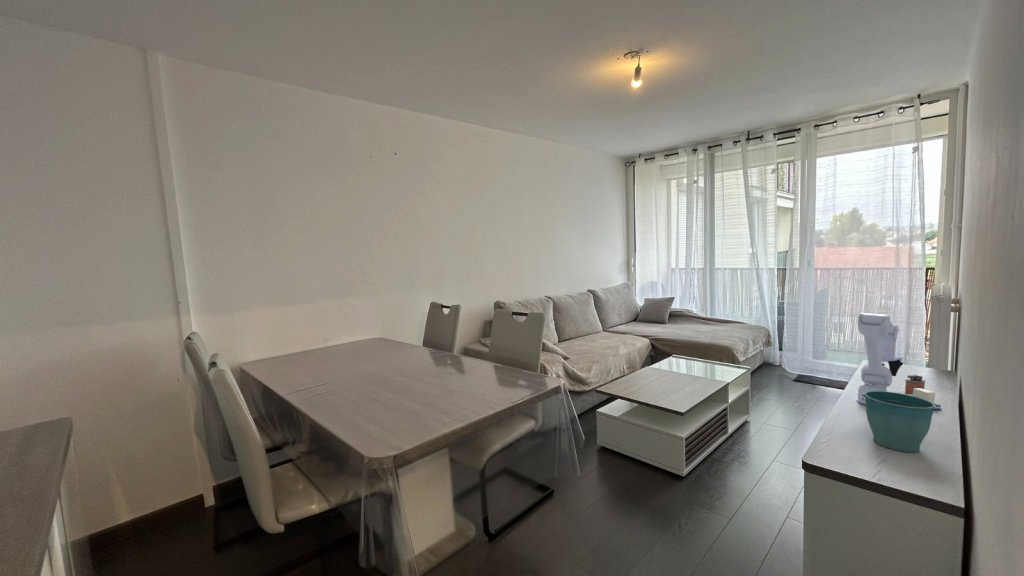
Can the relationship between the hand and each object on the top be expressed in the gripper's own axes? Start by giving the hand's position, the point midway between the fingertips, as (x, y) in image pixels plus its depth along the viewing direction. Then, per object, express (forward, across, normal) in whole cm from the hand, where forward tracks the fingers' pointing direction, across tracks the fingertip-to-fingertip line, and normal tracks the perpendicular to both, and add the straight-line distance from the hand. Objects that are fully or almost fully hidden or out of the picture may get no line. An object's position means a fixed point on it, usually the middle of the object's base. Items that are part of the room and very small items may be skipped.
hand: (885, 376), depth 192 cm
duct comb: (+10, +4, -10) cm, 15 cm away
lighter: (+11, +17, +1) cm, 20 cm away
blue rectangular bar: (+10, +6, -16) cm, 20 cm away
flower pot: (+10, -46, -45) cm, 65 cm away
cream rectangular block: (+10, +7, -11) cm, 17 cm away
